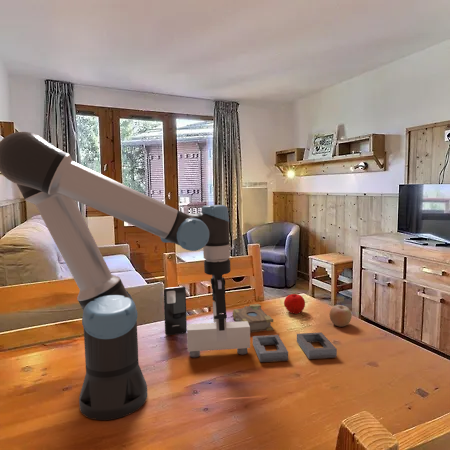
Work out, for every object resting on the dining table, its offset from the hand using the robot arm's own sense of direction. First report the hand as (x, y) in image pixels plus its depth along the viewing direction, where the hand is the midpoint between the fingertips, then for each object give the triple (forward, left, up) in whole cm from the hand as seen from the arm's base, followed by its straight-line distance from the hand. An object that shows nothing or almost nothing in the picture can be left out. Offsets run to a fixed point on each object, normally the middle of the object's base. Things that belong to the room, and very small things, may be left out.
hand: (219, 330), depth 104 cm
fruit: (+44, +16, -7) cm, 47 cm away
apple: (+31, +30, -7) cm, 44 cm away
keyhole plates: (+22, +1, -7) cm, 23 cm away
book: (+13, +21, -8) cm, 26 cm away
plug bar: (0, 0, -7) cm, 7 cm away
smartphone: (-13, +16, -7) cm, 22 cm away
